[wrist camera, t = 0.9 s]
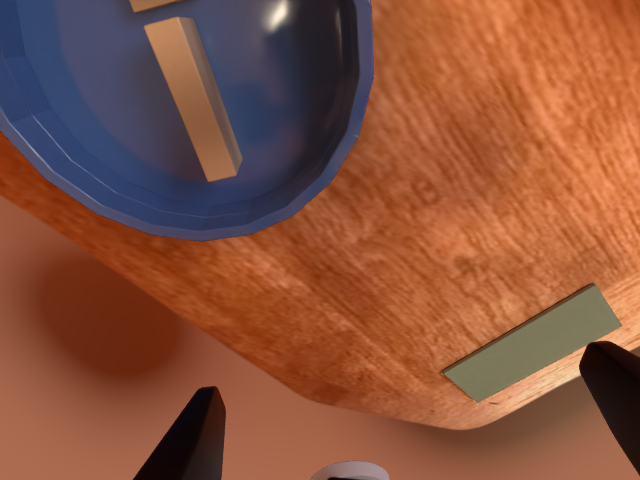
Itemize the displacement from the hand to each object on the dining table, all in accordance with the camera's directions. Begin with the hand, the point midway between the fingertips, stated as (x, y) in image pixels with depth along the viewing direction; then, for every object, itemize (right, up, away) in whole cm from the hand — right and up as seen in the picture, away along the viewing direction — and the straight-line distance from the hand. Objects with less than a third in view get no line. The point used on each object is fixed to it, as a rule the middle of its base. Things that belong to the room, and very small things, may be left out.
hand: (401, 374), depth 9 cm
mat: (+14, -5, +20) cm, 25 cm away
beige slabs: (-8, +11, +7) cm, 15 cm away
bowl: (-8, +12, +8) cm, 16 cm away
